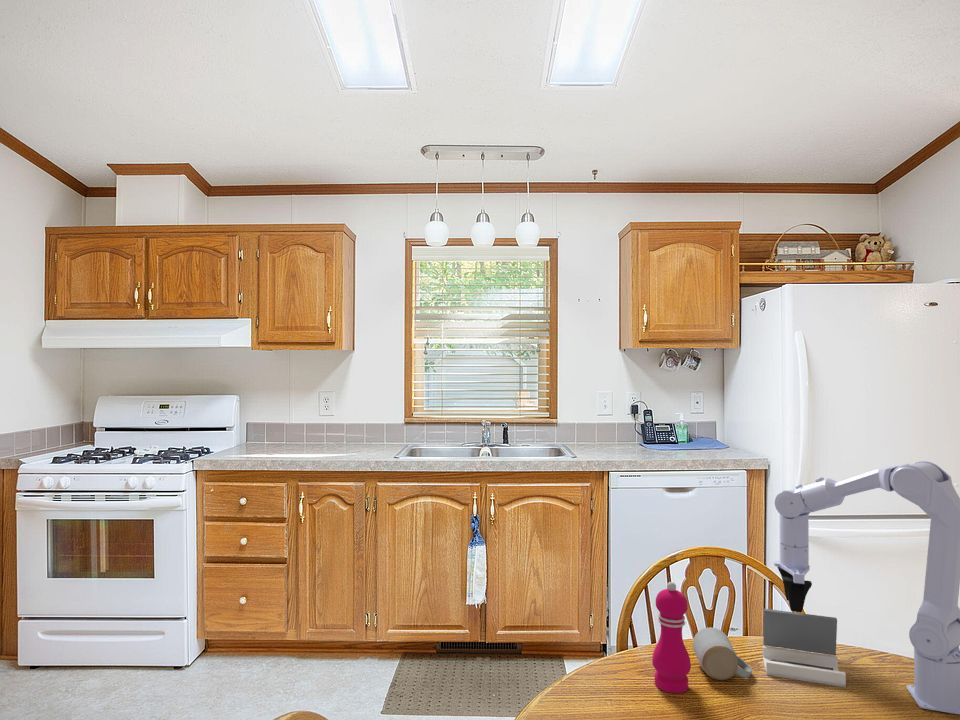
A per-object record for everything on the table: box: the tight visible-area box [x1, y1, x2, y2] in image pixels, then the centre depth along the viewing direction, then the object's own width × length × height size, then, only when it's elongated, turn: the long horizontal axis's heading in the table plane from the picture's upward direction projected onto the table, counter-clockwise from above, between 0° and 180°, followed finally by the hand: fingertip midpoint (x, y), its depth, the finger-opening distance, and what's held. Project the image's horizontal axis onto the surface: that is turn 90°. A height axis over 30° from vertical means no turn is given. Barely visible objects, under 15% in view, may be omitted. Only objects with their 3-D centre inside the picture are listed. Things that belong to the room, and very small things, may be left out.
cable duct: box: [762, 645, 847, 688], centre depth 124 cm, size 14×8×2 cm, turn 70°
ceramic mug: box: [692, 627, 753, 681], centre depth 124 cm, size 11×8×8 cm
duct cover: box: [762, 608, 838, 656], centre depth 128 cm, size 14×8×1 cm
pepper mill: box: [651, 581, 692, 694], centre depth 119 cm, size 7×7×20 cm
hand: (794, 605), depth 135 cm, fingers open, 6 cm apart
